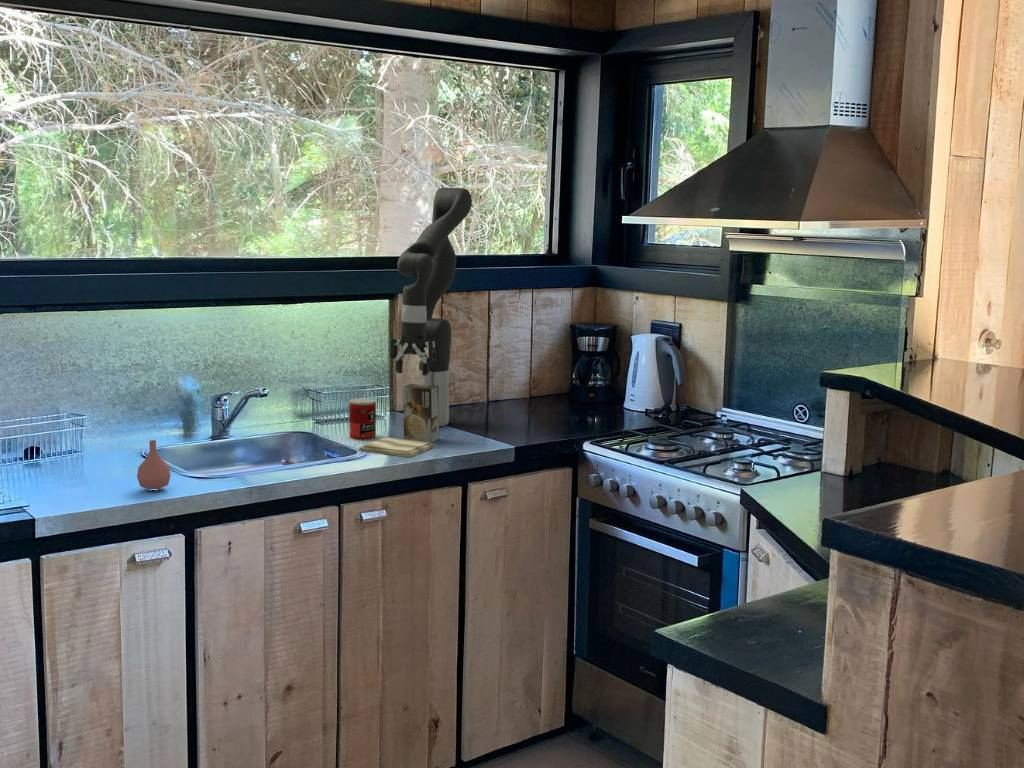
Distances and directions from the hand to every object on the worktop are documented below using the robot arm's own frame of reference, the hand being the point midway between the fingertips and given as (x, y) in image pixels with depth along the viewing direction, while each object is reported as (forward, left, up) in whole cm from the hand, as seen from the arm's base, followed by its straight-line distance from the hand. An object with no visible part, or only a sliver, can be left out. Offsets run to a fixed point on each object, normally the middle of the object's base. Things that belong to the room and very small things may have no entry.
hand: (412, 374), depth 335 cm
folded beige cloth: (+22, +8, -18) cm, 30 cm away
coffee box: (+8, +8, -18) cm, 21 cm away
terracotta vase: (+88, -20, -18) cm, 92 cm away
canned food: (+13, -9, -18) cm, 24 cm away
